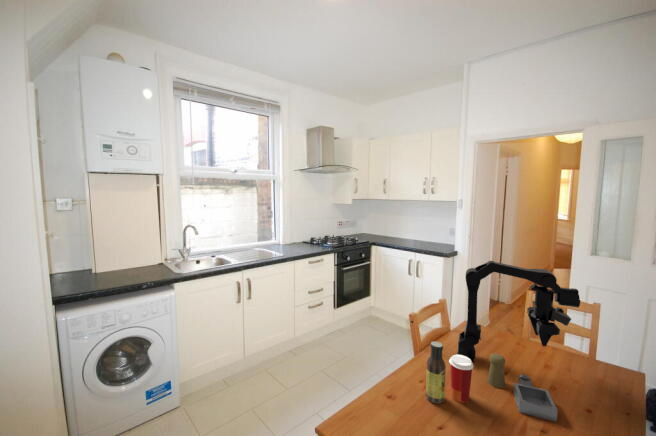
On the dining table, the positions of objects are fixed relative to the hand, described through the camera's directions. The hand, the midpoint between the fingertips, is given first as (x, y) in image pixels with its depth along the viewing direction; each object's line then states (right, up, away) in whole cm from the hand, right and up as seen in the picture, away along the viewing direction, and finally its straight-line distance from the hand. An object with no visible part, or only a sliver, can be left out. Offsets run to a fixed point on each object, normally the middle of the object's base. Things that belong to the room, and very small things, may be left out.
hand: (540, 340), depth 113 cm
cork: (-20, -15, -4) cm, 25 cm away
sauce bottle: (-46, -16, -12) cm, 50 cm away
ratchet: (-12, -16, -12) cm, 24 cm away
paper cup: (-37, -16, -11) cm, 42 cm away
